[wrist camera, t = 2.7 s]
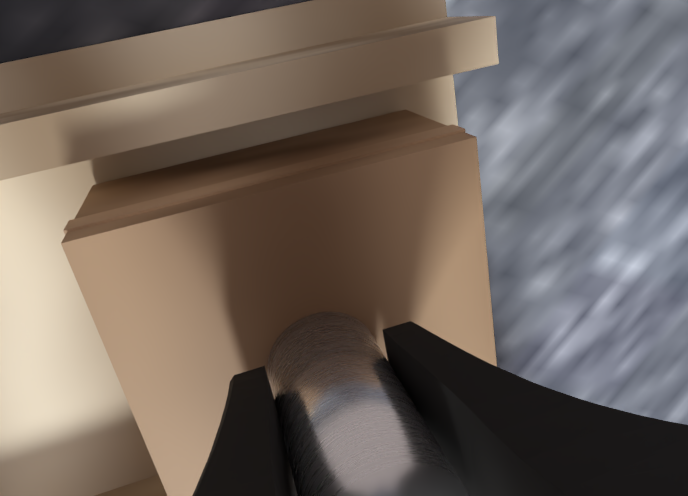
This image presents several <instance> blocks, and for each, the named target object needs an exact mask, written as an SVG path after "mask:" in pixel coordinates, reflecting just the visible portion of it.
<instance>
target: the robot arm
mask: <svg viewBox="0 0 688 496" xmlns="http://www.w3.org/2000/svg"><path fill="white" fill-rule="evenodd" d="M382 331H383V336H384V342H385V347H386V353H387V358H388V362H389V364H390V365H391V367H392V368H393V370H394V372H395V373H396V375H397V377H398V378H399V380H400V382H401V383H402V385H403V387H404V388H405V390H406V392H407V393H408V395H409V396H410V398H411V400H412V401H413V403H414V405H415V406H416V408H417V410H418V411H419V413H420V415H421V416H422V418H423V419H424V421H425V423H426V424H427V426H428V428H429V429H430V431H431V433H432V434H433V436H434V438H435V439H436V441H437V442H438V444H439V446H440V447H441V449H442V451H443V452H444V454H445V456H446V457H447V459H448V461H449V462H450V464H451V466H452V467H453V469H454V470H455V472H456V474H457V475H458V477H459V479H460V480H461V482H462V484H463V485H464V487H465V489H466V490H467V493H468V495H469V496H688V425H684V424H679V423H673V422H668V421H663V420H658V419H654V418H649V417H644V416H640V415H636V414H632V413H628V412H624V411H620V410H617V409H613V408H609V407H605V406H601V405H598V404H594V403H591V402H588V401H584V400H581V399H578V398H575V397H572V396H569V395H566V394H563V393H560V392H558V391H555V390H552V389H549V388H546V387H543V386H541V385H538V384H536V383H533V382H530V381H528V380H526V379H523V378H521V377H519V376H516V375H514V374H512V373H510V372H507V371H505V370H503V369H500V368H498V367H496V366H494V365H492V364H490V363H488V362H486V361H484V360H482V359H480V358H478V357H476V356H474V355H472V354H470V353H468V352H466V351H464V350H462V349H460V348H458V347H457V346H455V345H453V344H451V343H449V342H447V341H446V340H444V339H442V338H440V337H438V336H437V335H435V334H433V333H431V332H430V331H428V330H426V329H424V328H423V327H421V326H419V325H417V324H415V323H414V322H412V321H409V322H406V323H402V324H399V325H396V326H393V327H389V328H386V329H383V330H382ZM192 496H298V495H297V491H296V487H295V483H294V479H293V475H292V471H291V467H290V463H289V459H288V455H287V450H286V446H285V442H284V437H283V432H282V428H281V424H280V420H279V416H278V412H277V408H276V404H275V400H274V396H273V393H272V389H271V386H270V383H269V379H268V376H267V372H266V369H265V366H262V367H259V368H256V369H253V370H249V371H246V372H243V373H240V374H236V375H234V376H233V378H232V379H231V381H230V384H229V390H228V395H227V400H226V404H225V408H224V411H223V415H222V418H221V422H220V425H219V428H218V431H217V434H216V437H215V440H214V443H213V446H212V449H211V452H210V454H209V457H208V460H207V462H206V464H205V467H204V469H203V472H202V474H201V476H200V479H199V481H198V484H197V486H196V488H195V491H194V493H193V495H192Z"/></svg>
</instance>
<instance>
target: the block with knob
mask: <svg viewBox="0 0 688 496" xmlns="http://www.w3.org/2000/svg"><path fill="white" fill-rule="evenodd" d="M63 231H64V234H65V237H64V239H63V240H62V242H61V245H62V247H63V250H64V252H65V254H66V257H67V259H68V262H69V264H70V266H71V269H72V271H73V273H74V276H75V278H76V281H77V283H78V285H79V288H80V290H81V292H82V295H83V297H84V299H85V302H86V304H87V307H88V309H89V311H90V314H91V316H92V318H93V321H94V323H95V325H96V328H97V330H98V333H99V335H100V337H101V340H102V342H103V344H104V347H105V349H106V351H107V354H108V356H109V359H110V361H111V363H112V366H113V368H114V370H115V373H116V375H117V377H118V380H119V382H120V385H121V387H122V389H123V392H124V394H125V396H126V399H127V401H128V404H129V406H130V408H131V411H132V413H133V415H134V418H135V420H136V422H137V425H138V427H139V430H140V432H141V434H142V437H143V439H144V441H145V444H146V446H147V448H148V451H149V453H150V456H151V458H152V460H153V463H154V465H155V467H156V470H157V472H158V474H159V477H160V479H161V482H162V484H163V486H164V489H165V491H166V493H167V496H192V495H193V493H194V491H195V488H196V486H197V484H198V481H199V479H200V476H201V474H202V472H203V469H204V467H205V464H206V462H207V460H208V457H209V454H210V452H211V449H212V446H213V443H214V440H215V437H216V434H217V431H218V428H219V425H220V422H221V418H222V415H223V411H224V408H225V404H226V400H227V395H228V390H229V384H230V381H231V379H232V378H233V376H234V375H236V374H240V373H243V372H246V371H249V370H253V369H256V368H259V367H262V366H265V369H266V372H267V376H268V379H269V383H270V386H271V389H272V393H273V396H274V400H275V404H276V408H277V412H278V416H279V420H280V424H281V428H282V432H283V437H284V442H285V446H286V450H287V455H288V459H289V463H290V467H291V471H292V475H293V479H294V483H295V487H296V491H297V495H298V496H469V495H468V493H467V490H466V489H465V487H464V485H463V484H462V482H461V480H460V479H459V477H458V475H457V474H456V472H455V470H454V469H453V467H452V466H451V464H450V462H449V461H448V459H447V457H446V456H445V454H444V452H443V451H442V449H441V447H440V446H439V444H438V442H437V441H436V439H435V438H434V436H433V434H432V433H431V431H430V429H429V428H428V426H427V424H426V423H425V421H424V419H423V418H422V416H421V415H420V413H419V411H418V410H417V408H416V406H415V405H414V403H413V401H412V400H411V398H410V396H409V395H408V393H407V392H406V390H405V388H404V387H403V385H402V383H401V382H400V380H399V378H398V377H397V375H396V373H395V372H394V370H393V368H392V367H391V365H390V364H389V362H388V358H387V353H386V347H385V342H384V336H383V331H382V330H383V329H386V328H389V327H393V326H396V325H399V324H402V323H406V322H409V321H412V322H414V323H415V324H417V325H419V326H421V327H423V328H424V329H426V330H428V331H430V332H431V333H433V334H435V335H437V336H438V337H440V338H442V339H444V340H446V341H447V342H449V343H451V344H453V345H455V346H457V347H458V348H460V349H462V350H464V351H466V352H468V353H470V354H472V355H474V356H476V357H478V358H480V359H482V360H484V361H486V362H488V363H490V364H492V365H494V366H496V367H497V362H496V351H495V340H494V329H493V318H492V307H491V295H490V284H489V273H488V262H487V251H486V239H485V228H484V217H483V206H482V195H481V184H480V172H479V161H478V150H477V139H476V137H475V136H472V135H470V134H467V133H465V129H464V128H461V127H459V126H456V125H453V124H452V125H448V126H447V125H444V124H442V123H439V122H436V121H434V120H431V119H429V118H426V117H424V116H421V115H419V114H416V113H413V112H411V111H408V110H406V109H405V110H401V111H397V112H393V113H389V114H385V115H381V116H376V117H372V118H368V119H364V120H360V121H356V122H352V123H348V124H343V125H339V126H335V127H331V128H327V129H323V130H319V131H315V132H310V133H306V134H302V135H298V136H294V137H290V138H286V139H281V140H277V141H273V142H269V143H265V144H261V145H257V146H253V147H248V148H244V149H240V150H236V151H232V152H228V153H224V154H220V155H215V156H211V157H207V158H203V159H199V160H195V161H191V162H186V163H182V164H178V165H174V166H170V167H166V168H162V169H158V170H153V171H149V172H145V173H141V174H137V175H133V176H129V177H124V178H120V179H116V180H112V181H108V182H104V183H100V184H96V185H93V186H92V187H91V189H90V191H89V193H88V195H87V197H86V198H85V200H84V202H83V204H82V206H81V208H80V209H79V211H78V213H77V215H76V217H75V219H72V220H69V221H68V223H67V225H66V226H65V228H64V230H63Z"/></svg>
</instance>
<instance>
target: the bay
mask: <svg viewBox="0 0 688 496" xmlns="http://www.w3.org/2000/svg"><path fill="white" fill-rule="evenodd" d="M495 64H499V62H498V48H497V33H496V19H495V16H472V17H447V12H446V2H445V0H311V1H307V2H302V3H297V4H292V5H287V6H282V7H277V8H272V9H267V10H262V11H257V12H252V13H247V14H242V15H238V16H233V17H228V18H223V19H218V20H213V21H208V22H203V23H198V24H193V25H188V26H183V27H178V28H173V29H168V30H164V31H159V32H154V33H149V34H144V35H139V36H134V37H129V38H124V39H119V40H114V41H109V42H104V43H99V44H94V45H90V46H85V47H80V48H75V49H70V50H65V51H60V52H55V53H50V54H45V55H40V56H35V57H30V58H25V59H21V60H16V61H11V62H6V63H1V64H0V496H167V493H166V491H165V489H164V486H163V484H162V482H161V479H160V477H159V474H158V472H157V470H156V467H155V465H154V463H153V460H152V458H151V456H150V453H149V451H148V448H147V446H146V444H145V441H144V439H143V437H142V434H141V432H140V430H139V427H138V425H137V422H136V420H135V418H134V415H133V413H132V411H131V408H130V406H129V404H128V401H127V399H126V396H125V394H124V392H123V389H122V387H121V385H120V382H119V380H118V377H117V375H116V373H115V370H114V368H113V366H112V363H111V361H110V359H109V356H108V354H107V351H106V349H105V347H104V344H103V342H102V340H101V337H100V335H99V333H98V330H97V328H96V325H95V323H94V321H93V318H92V316H91V314H90V311H89V309H88V307H87V304H86V302H85V299H84V297H83V295H82V292H81V290H80V288H79V285H78V283H77V281H76V278H75V276H74V273H73V271H72V269H71V266H70V264H69V262H68V259H67V257H66V254H65V252H64V250H63V247H62V245H61V242H62V240H63V239H64V237H65V234H64V231H63V230H64V228H65V226H66V225H67V223H68V221H69V220H72V219H75V217H76V215H77V213H78V211H79V209H80V208H81V206H82V204H83V202H84V200H85V198H86V197H87V195H88V193H89V191H90V189H91V187H92V186H93V185H96V184H100V183H104V182H108V181H112V180H116V179H120V178H124V177H129V176H133V175H137V174H141V173H145V172H149V171H153V170H158V169H162V168H166V167H170V166H174V165H178V164H182V163H186V162H191V161H195V160H199V159H203V158H207V157H211V156H215V155H220V154H224V153H228V152H232V151H236V150H240V149H244V148H248V147H253V146H257V145H261V144H265V143H269V142H273V141H277V140H281V139H286V138H290V137H294V136H298V135H302V134H306V133H310V132H315V131H319V130H323V129H327V128H331V127H335V126H339V125H343V124H348V123H352V122H356V121H360V120H364V119H368V118H372V117H376V116H381V115H385V114H389V113H393V112H397V111H401V110H405V109H406V110H408V111H411V112H413V113H416V114H419V115H421V116H424V117H426V118H429V119H431V120H434V121H436V122H439V123H442V124H444V125H447V126H448V125H452V124H453V125H456V126H458V120H457V110H456V100H455V91H454V81H453V74H457V73H461V72H465V71H470V70H474V69H478V68H482V67H487V66H491V65H495Z"/></svg>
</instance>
